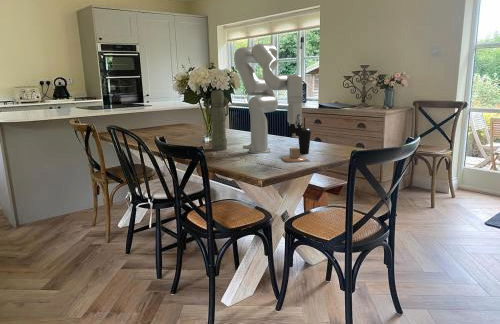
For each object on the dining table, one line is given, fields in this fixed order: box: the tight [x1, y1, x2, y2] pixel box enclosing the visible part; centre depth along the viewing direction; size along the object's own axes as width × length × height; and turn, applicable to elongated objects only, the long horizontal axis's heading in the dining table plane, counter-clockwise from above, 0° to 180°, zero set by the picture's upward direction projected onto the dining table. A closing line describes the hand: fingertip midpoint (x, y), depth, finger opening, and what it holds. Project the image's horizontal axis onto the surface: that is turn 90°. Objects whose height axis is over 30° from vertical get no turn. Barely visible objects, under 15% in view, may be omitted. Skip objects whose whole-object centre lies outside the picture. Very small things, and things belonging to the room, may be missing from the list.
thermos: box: [207, 89, 229, 152], centre depth 223 cm, size 9×12×35 cm
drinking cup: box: [297, 117, 312, 155], centre depth 206 cm, size 8×8×20 cm
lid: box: [283, 147, 307, 163], centre depth 193 cm, size 12×12×6 cm
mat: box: [279, 156, 312, 164], centre depth 194 cm, size 13×13×1 cm
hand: (295, 134), depth 190 cm, fingers open, 9 cm apart
